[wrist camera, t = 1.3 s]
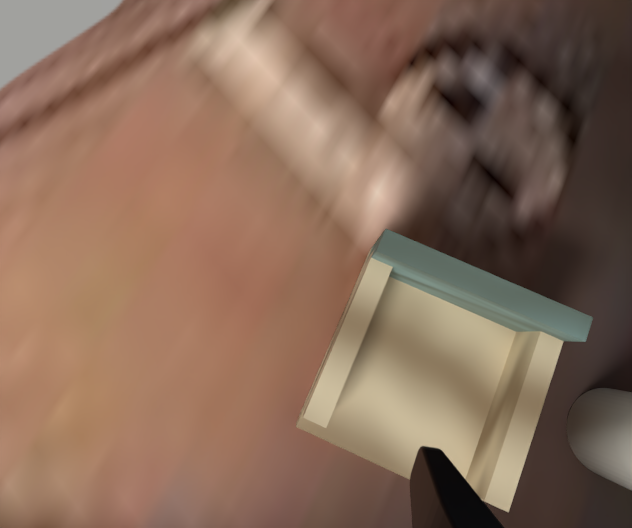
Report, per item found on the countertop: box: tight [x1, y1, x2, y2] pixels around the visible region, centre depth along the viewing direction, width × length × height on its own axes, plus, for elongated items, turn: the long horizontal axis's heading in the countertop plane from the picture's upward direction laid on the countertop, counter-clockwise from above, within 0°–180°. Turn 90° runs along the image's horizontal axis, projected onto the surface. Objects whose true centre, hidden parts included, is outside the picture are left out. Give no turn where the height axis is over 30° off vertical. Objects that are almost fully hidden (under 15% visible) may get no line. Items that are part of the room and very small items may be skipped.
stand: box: [296, 229, 593, 513], centre depth 21 cm, size 11×10×5 cm
